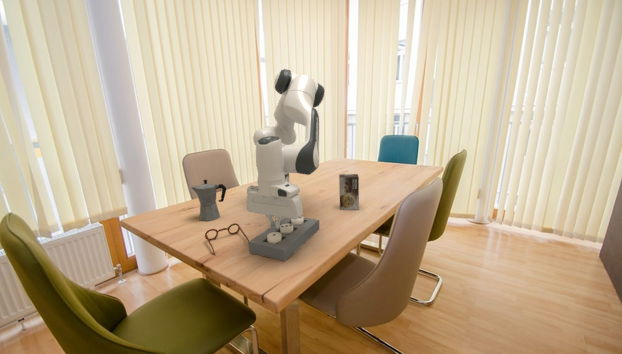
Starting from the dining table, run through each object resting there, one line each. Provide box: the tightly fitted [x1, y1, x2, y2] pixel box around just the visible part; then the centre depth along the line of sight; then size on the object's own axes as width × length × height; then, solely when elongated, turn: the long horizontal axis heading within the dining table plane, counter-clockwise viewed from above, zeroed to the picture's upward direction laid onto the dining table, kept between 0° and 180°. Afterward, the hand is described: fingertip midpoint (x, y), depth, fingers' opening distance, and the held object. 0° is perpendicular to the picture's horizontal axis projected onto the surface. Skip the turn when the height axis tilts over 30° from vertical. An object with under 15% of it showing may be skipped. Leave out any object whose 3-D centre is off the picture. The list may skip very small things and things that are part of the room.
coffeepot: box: [191, 179, 227, 222], centre depth 122 cm, size 15×9×18 cm, turn 92°
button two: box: [291, 215, 304, 226], centre depth 105 cm, size 5×5×4 cm
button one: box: [267, 232, 282, 245], centre depth 92 cm, size 5×5×4 cm
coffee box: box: [338, 173, 360, 211], centre depth 129 cm, size 9×6×16 cm
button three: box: [280, 223, 293, 235], centre depth 98 cm, size 5×5×4 cm
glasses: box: [204, 223, 250, 256], centre depth 98 cm, size 13×13×5 cm
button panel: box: [248, 216, 320, 262], centre depth 99 cm, size 14×26×4 cm, turn 154°
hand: (274, 227), depth 90 cm, fingers closed
